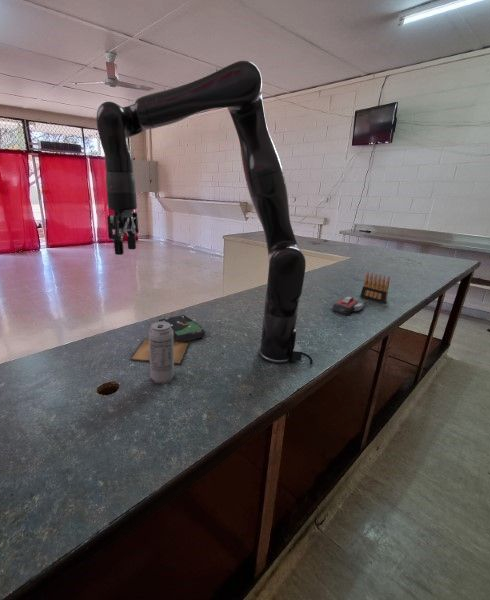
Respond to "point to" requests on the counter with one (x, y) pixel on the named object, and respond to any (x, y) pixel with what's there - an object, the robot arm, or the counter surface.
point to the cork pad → (144, 354)
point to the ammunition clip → (375, 288)
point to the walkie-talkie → (348, 305)
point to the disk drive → (184, 328)
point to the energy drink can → (161, 352)
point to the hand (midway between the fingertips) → (126, 251)
